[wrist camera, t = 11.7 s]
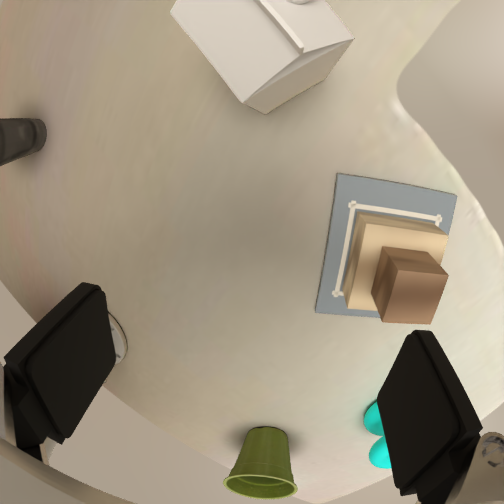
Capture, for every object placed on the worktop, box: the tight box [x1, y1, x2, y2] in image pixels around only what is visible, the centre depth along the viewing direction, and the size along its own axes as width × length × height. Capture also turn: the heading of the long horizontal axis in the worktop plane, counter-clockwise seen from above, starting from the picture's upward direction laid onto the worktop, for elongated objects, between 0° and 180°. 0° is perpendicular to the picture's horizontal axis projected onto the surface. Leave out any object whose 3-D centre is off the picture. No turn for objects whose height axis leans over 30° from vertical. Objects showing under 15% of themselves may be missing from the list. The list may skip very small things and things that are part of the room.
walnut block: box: [371, 246, 449, 324], centre depth 25 cm, size 5×5×5 cm
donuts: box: [364, 402, 391, 469], centre depth 37 cm, size 10×10×10 cm
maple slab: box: [342, 211, 448, 311], centre depth 29 cm, size 9×9×4 cm
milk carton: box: [170, 0, 355, 114], centre depth 17 cm, size 7×7×19 cm
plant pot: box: [223, 427, 298, 499], centre depth 42 cm, size 12×12×11 cm
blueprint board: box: [315, 173, 457, 318], centre depth 31 cm, size 16×14×1 cm
